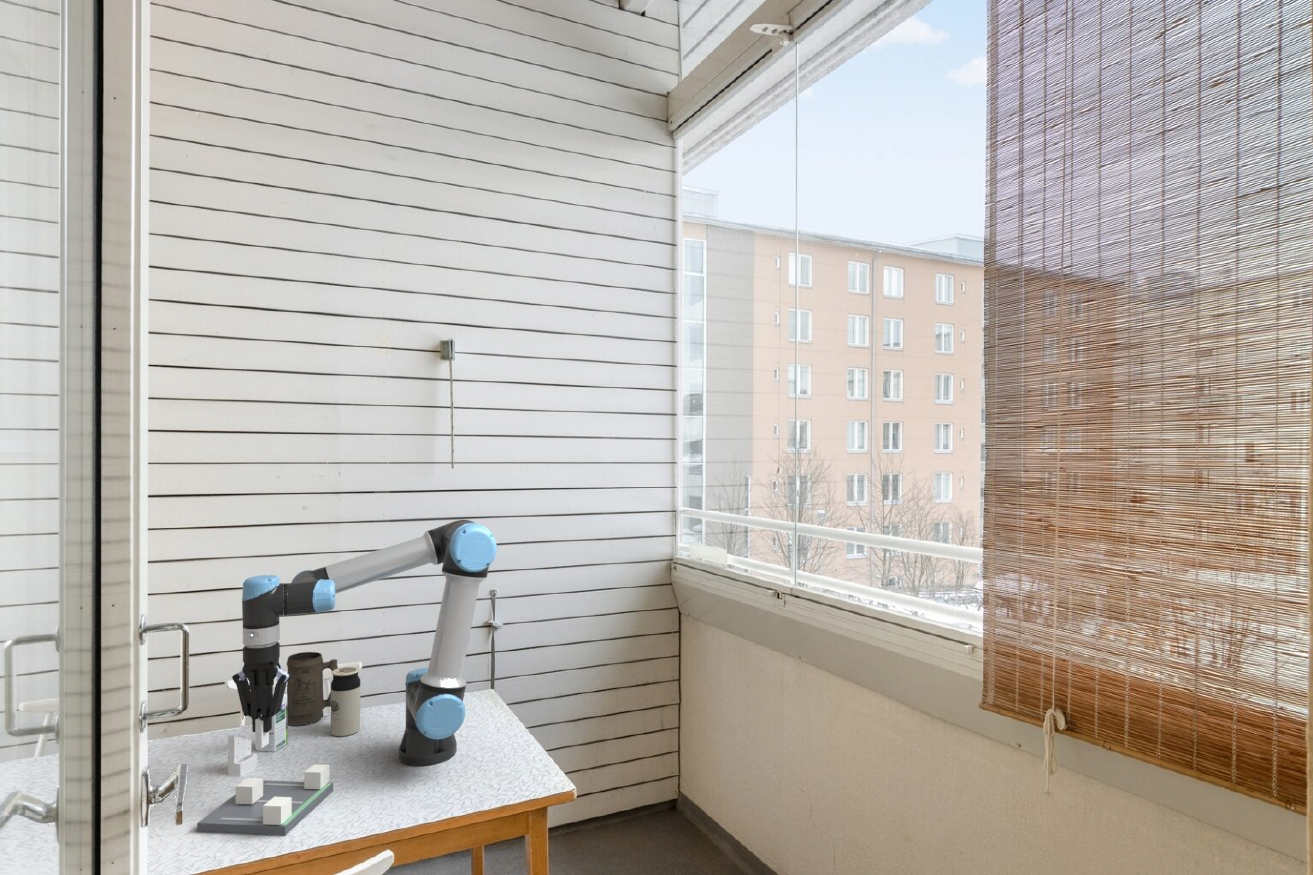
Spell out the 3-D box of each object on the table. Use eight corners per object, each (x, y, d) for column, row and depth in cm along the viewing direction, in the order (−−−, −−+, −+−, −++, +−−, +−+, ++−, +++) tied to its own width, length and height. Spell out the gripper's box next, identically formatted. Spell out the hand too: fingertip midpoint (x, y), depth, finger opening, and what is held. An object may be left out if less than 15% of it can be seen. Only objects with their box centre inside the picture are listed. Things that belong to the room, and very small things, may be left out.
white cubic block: (263, 795, 168) (263, 778, 168) (252, 804, 164) (252, 786, 164) (246, 795, 168) (246, 777, 168) (235, 803, 164) (235, 786, 164)
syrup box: (275, 752, 197) (275, 699, 197) (255, 751, 198) (255, 698, 198) (288, 743, 203) (288, 692, 203) (268, 742, 203) (268, 691, 203)
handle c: (291, 815, 159) (291, 797, 159) (280, 824, 155) (280, 806, 155) (274, 814, 160) (274, 796, 160) (263, 824, 156) (263, 805, 156)
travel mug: (354, 724, 217) (354, 664, 217) (364, 731, 211) (364, 670, 211) (326, 731, 211) (327, 669, 212) (336, 739, 206) (336, 676, 206)
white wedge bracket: (214, 772, 179) (228, 735, 184) (240, 777, 188) (253, 741, 192) (227, 774, 179) (240, 736, 183) (253, 778, 187) (265, 742, 191)
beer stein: (280, 728, 213) (285, 661, 213) (283, 716, 223) (288, 651, 223) (337, 724, 219) (342, 658, 220) (337, 712, 229) (342, 649, 229)
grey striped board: (333, 790, 175) (333, 782, 175) (285, 835, 155) (285, 825, 155) (254, 788, 177) (254, 779, 177) (197, 832, 157) (197, 822, 157)
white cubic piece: (329, 781, 175) (329, 764, 175) (320, 789, 171) (320, 772, 171) (313, 780, 176) (313, 764, 176) (304, 788, 172) (304, 771, 172)
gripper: (223, 648, 163) (224, 752, 163) (278, 648, 162) (279, 753, 162) (244, 638, 171) (245, 738, 170) (297, 639, 170) (298, 739, 170)
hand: (262, 745), depth 166 cm, fingers closed
